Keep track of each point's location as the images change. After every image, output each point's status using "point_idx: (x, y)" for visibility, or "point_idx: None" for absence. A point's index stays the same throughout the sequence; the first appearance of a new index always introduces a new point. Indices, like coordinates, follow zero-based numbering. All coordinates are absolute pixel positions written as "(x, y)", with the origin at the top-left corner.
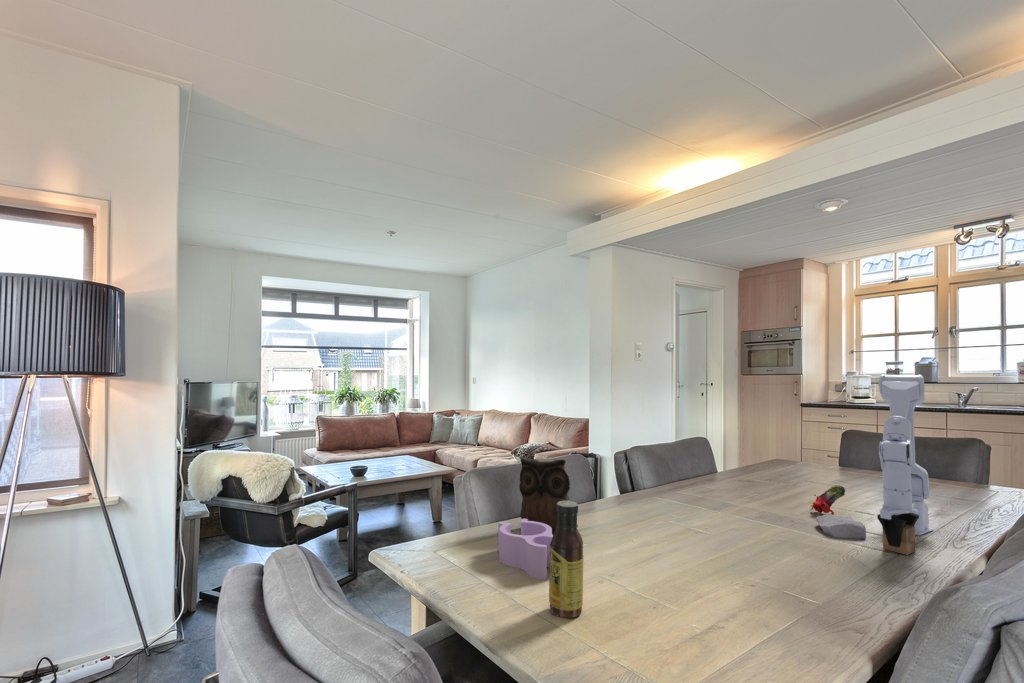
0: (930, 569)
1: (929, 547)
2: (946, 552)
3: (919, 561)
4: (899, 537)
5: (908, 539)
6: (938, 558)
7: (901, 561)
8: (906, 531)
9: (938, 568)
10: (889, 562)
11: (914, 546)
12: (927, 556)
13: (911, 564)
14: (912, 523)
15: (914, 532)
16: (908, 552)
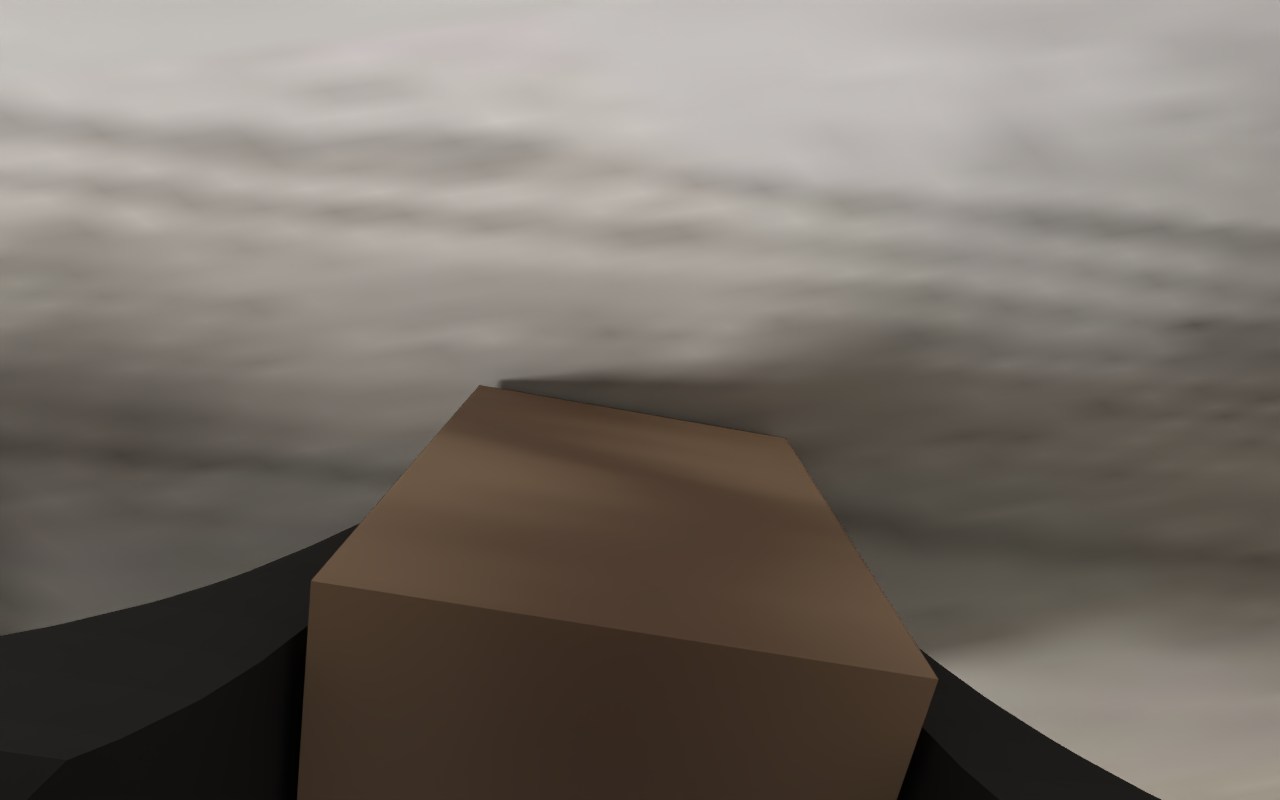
0: (1236, 90)
1: (28, 276)
2: (66, 31)
3: (927, 269)
4: (927, 656)
5: (755, 520)
6: (541, 82)
7: (1103, 442)
8: (904, 642)
9: (1104, 4)
10: (1253, 537)
11: (505, 413)
12: (568, 224)
13: (1158, 326)
14: (242, 681)
15: (405, 509)
16: (739, 437)
